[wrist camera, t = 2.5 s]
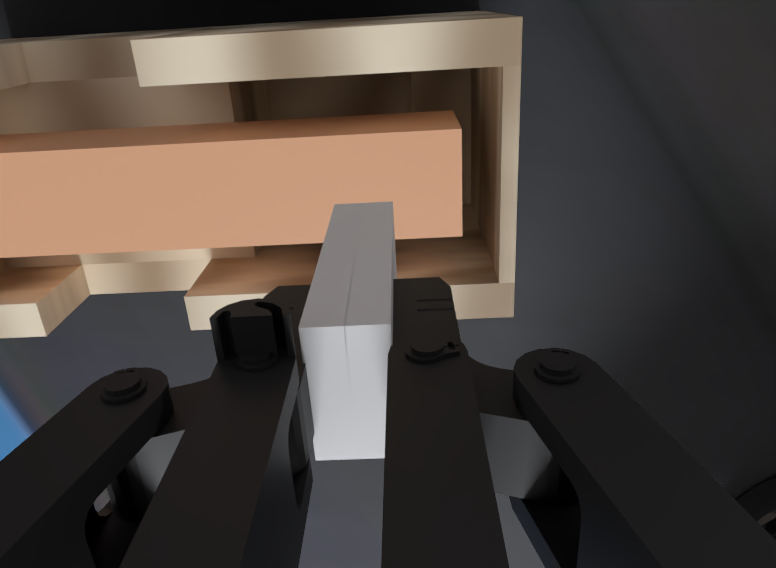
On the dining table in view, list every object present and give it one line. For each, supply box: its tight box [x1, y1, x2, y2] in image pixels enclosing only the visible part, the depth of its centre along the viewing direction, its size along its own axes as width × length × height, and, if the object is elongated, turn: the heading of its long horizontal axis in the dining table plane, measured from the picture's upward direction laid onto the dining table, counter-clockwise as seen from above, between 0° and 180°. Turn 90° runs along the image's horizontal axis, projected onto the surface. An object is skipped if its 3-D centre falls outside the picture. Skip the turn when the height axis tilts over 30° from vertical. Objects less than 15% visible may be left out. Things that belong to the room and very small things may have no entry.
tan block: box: [0, 110, 462, 258], centre depth 25 cm, size 20×4×4 cm, turn 93°
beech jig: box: [0, 11, 523, 338], centre depth 29 cm, size 24×11×12 cm, turn 93°
